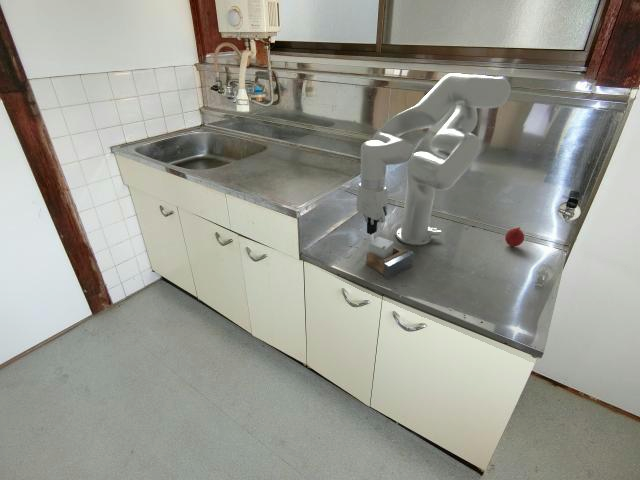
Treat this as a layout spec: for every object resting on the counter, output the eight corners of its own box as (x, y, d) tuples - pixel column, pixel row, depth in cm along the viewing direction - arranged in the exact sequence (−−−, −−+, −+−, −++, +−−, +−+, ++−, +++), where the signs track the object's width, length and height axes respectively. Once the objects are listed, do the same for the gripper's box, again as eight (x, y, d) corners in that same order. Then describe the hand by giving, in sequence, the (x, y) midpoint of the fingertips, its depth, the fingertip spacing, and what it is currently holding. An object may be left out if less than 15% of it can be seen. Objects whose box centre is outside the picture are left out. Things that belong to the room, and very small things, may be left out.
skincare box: (376, 254, 124) (377, 235, 120) (392, 260, 120) (394, 241, 117) (367, 262, 119) (368, 243, 116) (383, 268, 116) (385, 249, 112)
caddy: (365, 263, 118) (367, 250, 116) (387, 252, 124) (388, 240, 121) (384, 275, 113) (386, 261, 110) (406, 263, 118) (408, 250, 116)
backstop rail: (382, 276, 112) (384, 263, 110) (407, 263, 119) (409, 250, 116) (387, 279, 111) (389, 266, 108) (412, 265, 118) (414, 252, 115)
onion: (516, 252, 125) (522, 232, 120) (499, 246, 128) (505, 226, 124) (523, 247, 128) (530, 227, 124) (507, 240, 132) (513, 221, 128)
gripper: (347, 178, 115) (348, 228, 125) (382, 192, 105) (380, 245, 114) (364, 172, 118) (364, 220, 128) (399, 185, 108) (396, 236, 118)
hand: (371, 232), depth 121 cm, fingers closed
